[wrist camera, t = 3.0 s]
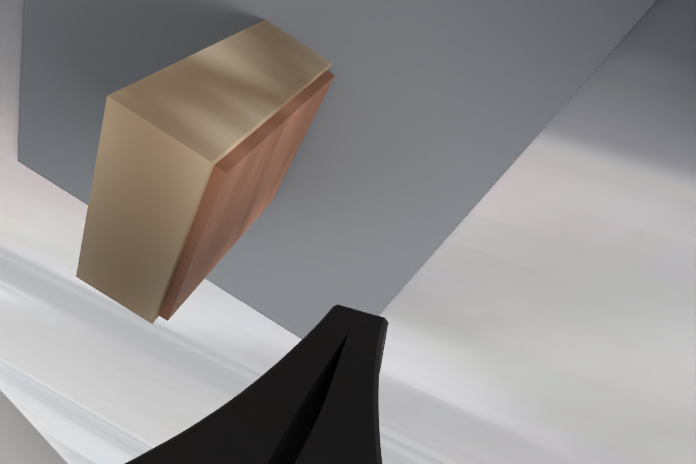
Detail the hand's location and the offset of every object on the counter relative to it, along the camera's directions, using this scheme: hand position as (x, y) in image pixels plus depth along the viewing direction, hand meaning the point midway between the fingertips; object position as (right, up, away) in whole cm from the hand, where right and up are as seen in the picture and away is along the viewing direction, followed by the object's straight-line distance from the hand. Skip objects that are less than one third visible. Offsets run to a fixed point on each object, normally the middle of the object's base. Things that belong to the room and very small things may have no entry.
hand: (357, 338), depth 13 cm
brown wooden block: (-3, +7, +5) cm, 9 cm away
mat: (-4, +7, +5) cm, 10 cm away
